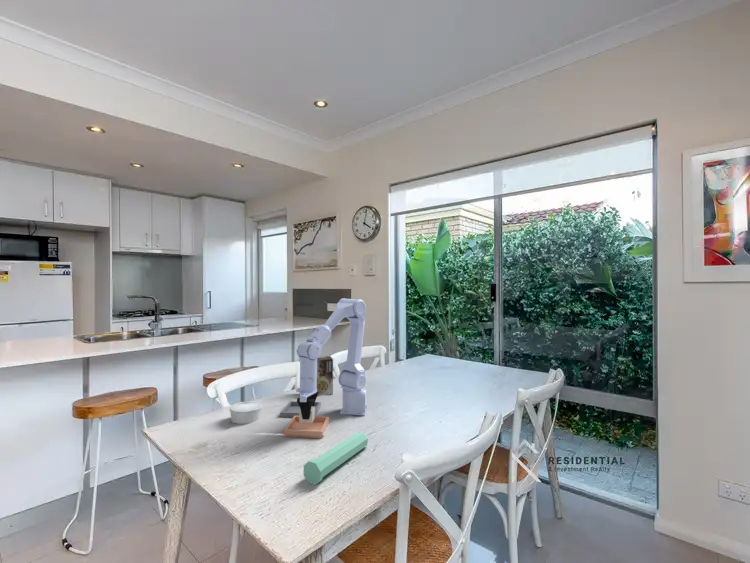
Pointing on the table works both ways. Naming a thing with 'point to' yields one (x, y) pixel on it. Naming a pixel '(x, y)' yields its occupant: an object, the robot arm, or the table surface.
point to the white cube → (312, 416)
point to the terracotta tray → (306, 428)
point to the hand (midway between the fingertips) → (307, 416)
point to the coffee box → (325, 375)
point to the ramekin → (245, 412)
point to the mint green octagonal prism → (334, 457)
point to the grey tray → (296, 409)
